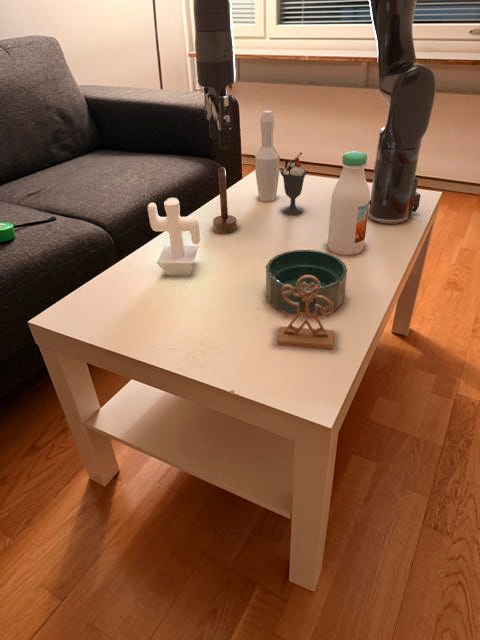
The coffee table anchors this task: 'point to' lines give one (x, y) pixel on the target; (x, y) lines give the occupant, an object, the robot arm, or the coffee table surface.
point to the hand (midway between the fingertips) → (220, 143)
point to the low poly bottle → (267, 161)
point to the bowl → (305, 263)
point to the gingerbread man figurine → (303, 335)
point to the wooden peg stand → (224, 209)
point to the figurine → (175, 237)
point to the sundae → (293, 183)
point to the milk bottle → (349, 206)
